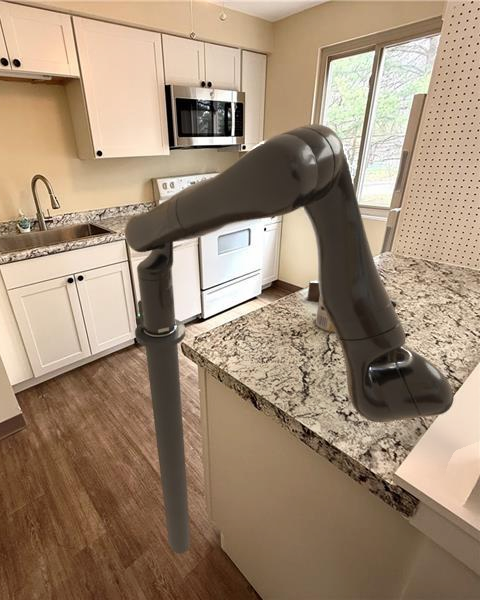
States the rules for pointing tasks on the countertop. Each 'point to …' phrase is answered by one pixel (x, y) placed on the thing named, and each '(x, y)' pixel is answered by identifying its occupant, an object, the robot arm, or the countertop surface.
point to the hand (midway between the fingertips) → (348, 288)
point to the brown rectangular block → (313, 291)
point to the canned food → (323, 319)
